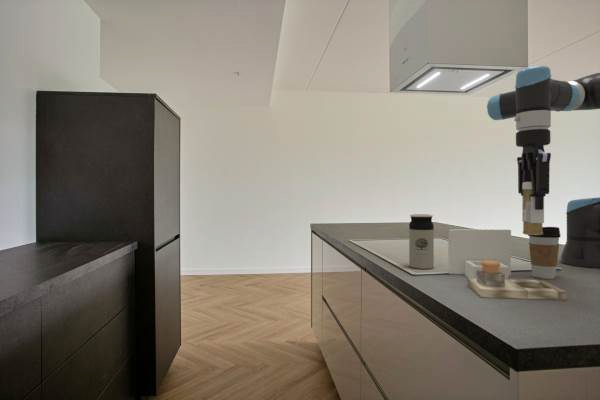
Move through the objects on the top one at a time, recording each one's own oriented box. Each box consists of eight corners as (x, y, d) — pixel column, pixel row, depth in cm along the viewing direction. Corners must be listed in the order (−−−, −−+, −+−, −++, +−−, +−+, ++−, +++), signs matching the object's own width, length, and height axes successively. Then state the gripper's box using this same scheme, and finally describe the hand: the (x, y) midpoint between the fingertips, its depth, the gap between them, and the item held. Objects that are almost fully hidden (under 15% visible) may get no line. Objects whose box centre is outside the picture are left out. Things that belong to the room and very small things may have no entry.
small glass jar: (496, 279, 102) (496, 260, 102) (502, 283, 98) (502, 263, 98) (478, 278, 103) (478, 259, 103) (484, 282, 98) (484, 263, 98)
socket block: (541, 287, 104) (542, 269, 104) (565, 300, 92) (565, 279, 92) (467, 285, 107) (467, 267, 107) (481, 297, 95) (481, 277, 95)
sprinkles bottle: (525, 233, 102) (524, 182, 101) (545, 234, 99) (545, 181, 98) (520, 234, 98) (520, 181, 98) (541, 235, 95) (541, 181, 95)
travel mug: (412, 264, 138) (412, 214, 138) (435, 266, 134) (435, 214, 134) (406, 268, 131) (406, 215, 131) (430, 270, 127) (430, 215, 127)
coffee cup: (565, 280, 112) (566, 228, 111) (533, 279, 114) (533, 228, 113) (552, 274, 120) (553, 226, 120) (523, 273, 122) (523, 225, 121)
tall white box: (508, 274, 120) (509, 229, 120) (525, 283, 109) (525, 233, 108) (448, 272, 123) (448, 229, 123) (458, 281, 111) (458, 233, 111)
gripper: (504, 135, 107) (504, 219, 108) (532, 125, 90) (532, 225, 90) (533, 134, 106) (533, 219, 107) (567, 123, 89) (567, 225, 89)
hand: (532, 221), depth 98 cm, fingers closed on sprinkles bottle, 4 cm apart
